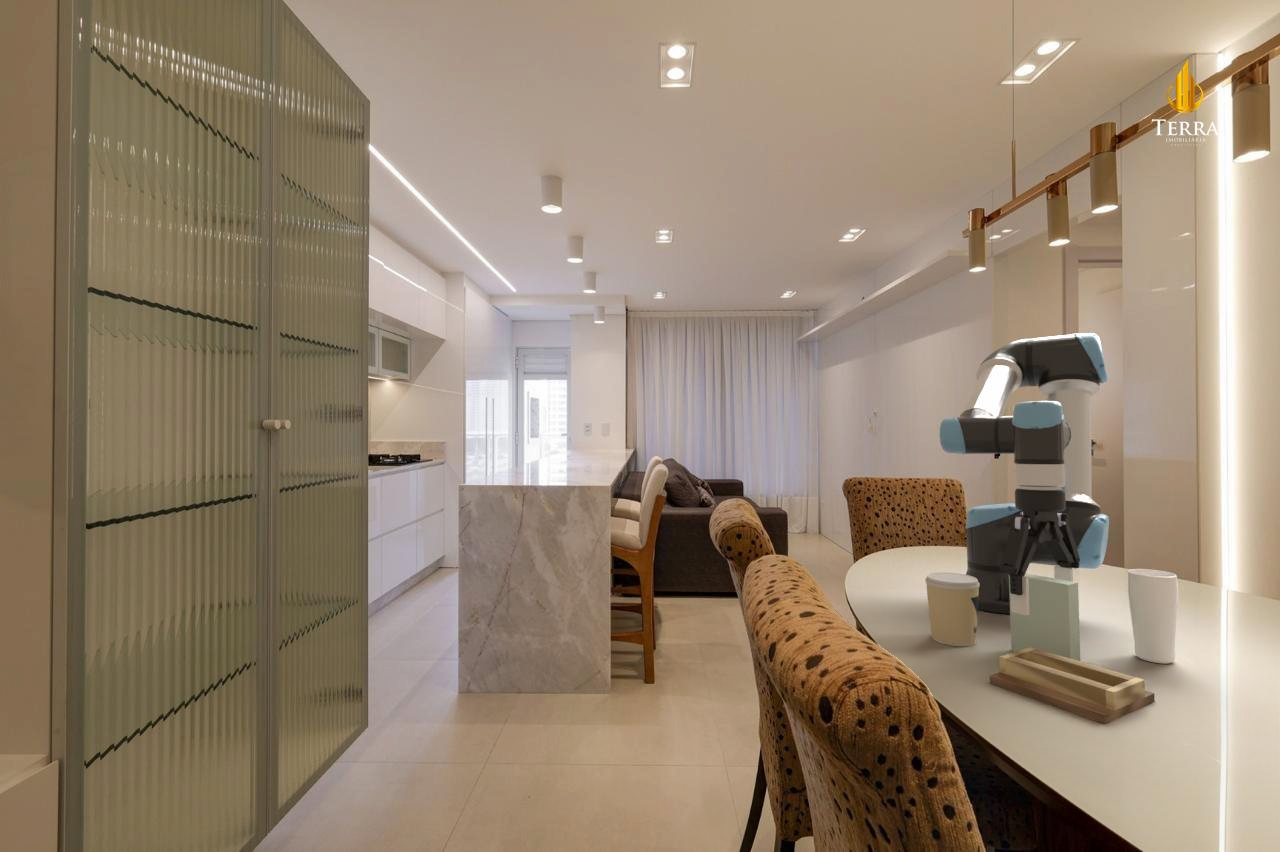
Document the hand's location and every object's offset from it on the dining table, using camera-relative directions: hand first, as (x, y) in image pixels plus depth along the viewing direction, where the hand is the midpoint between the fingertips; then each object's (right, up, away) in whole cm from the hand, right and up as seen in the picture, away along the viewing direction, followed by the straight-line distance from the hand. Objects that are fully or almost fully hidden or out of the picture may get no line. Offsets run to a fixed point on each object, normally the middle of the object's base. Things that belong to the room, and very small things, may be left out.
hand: (1042, 608), depth 107 cm
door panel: (0, -9, 0) cm, 9 cm away
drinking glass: (+18, -9, -2) cm, 20 cm away
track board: (-6, -9, -14) cm, 18 cm away
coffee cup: (-11, -9, +10) cm, 17 cm away
